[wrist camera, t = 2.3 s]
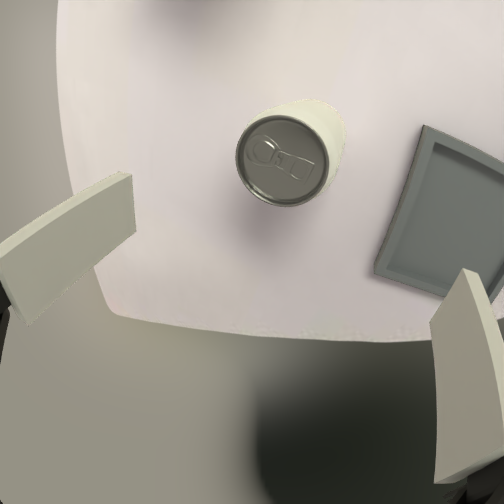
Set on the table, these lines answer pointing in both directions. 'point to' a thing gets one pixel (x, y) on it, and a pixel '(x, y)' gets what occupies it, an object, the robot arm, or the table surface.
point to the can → (291, 152)
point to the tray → (447, 218)
